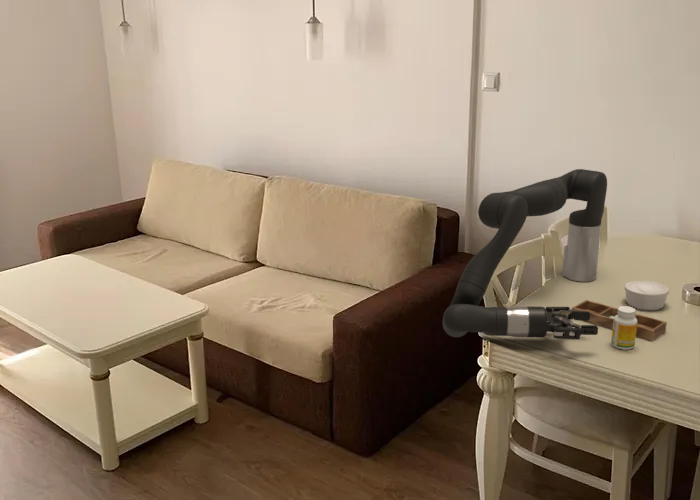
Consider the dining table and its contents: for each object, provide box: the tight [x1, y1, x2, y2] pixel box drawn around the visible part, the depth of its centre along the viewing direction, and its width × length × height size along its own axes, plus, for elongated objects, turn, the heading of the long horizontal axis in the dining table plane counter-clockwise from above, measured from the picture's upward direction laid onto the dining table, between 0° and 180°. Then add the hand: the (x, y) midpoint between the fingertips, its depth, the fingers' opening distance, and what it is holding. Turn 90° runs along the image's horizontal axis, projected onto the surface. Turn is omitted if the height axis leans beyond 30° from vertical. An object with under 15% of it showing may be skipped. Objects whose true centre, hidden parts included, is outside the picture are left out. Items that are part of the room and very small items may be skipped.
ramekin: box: [624, 280, 670, 311], centre depth 198 cm, size 11×11×5 cm
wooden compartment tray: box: [571, 299, 667, 342], centre depth 185 cm, size 22×8×3 cm, turn 44°
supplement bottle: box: [610, 305, 637, 351], centre depth 172 cm, size 5×5×10 cm
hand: (593, 322), depth 173 cm, fingers open, 8 cm apart
